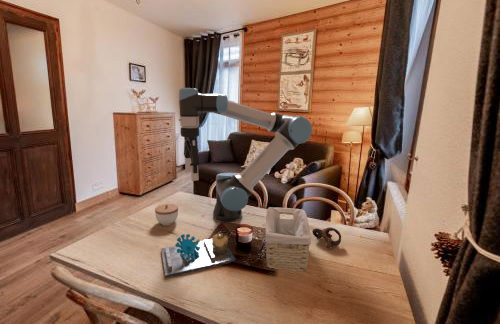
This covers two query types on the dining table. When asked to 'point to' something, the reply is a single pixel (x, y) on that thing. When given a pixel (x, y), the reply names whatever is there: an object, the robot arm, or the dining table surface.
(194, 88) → the robot arm
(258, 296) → the dining table surface
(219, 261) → the board
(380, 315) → the dining table surface
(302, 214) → the storage basket
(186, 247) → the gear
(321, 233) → the dark brown ring ornament
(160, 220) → the lidded jar
